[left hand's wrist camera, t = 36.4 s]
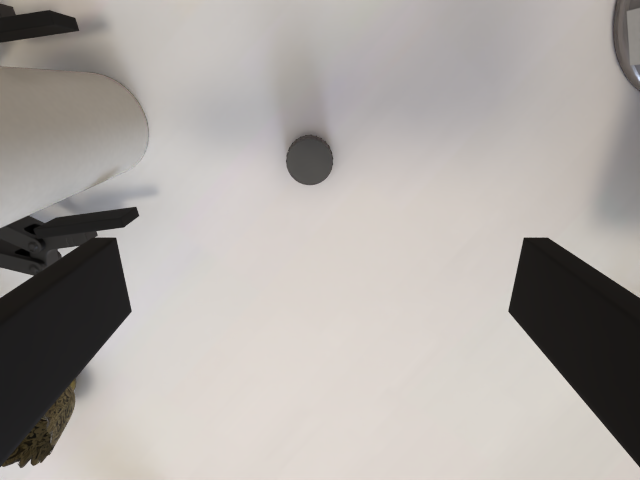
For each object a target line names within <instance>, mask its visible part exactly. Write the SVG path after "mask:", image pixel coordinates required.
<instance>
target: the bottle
mask: <svg viewBox="0 0 640 480" xmlns="http://www.w3.org/2000/svg"><path fill="white" fill-rule="evenodd" d="M147 144H148V125H147V121H146V117H145V114H144V112H143V110H142V108H141V106H140V104H139V103H138V101H137V100H136V98H135V97H134V96H133V95H132V94H131V93H130V92H129V91H128V90H127V89H126V88H125V87H124V86H123V85H121V84H120V83H118V82H117V81H115V80H113V79H111V78H109V77H107V76H104V75H101V74H97V73H88V72H74V71H59V70H45V69H30V68H15V67H1V66H0V228H2V227H4V226H6V225H8V224H11V223H13V222H15V221H17V220H19V219H22V218H24V217H26V216H28V215H31V214H33V213H35V212H37V211H39V210H42V209H44V208H46V207H48V206H51V205H53V204H55V203H57V202H59V201H62V200H64V199H66V198H68V197H71V196H73V195H75V194H77V193H79V192H82V191H84V190H86V189H88V188H91V187H93V186H95V185H97V184H99V183H102V182H104V181H106V180H108V179H111V178H113V177H115V176H117V175H119V174H122V173H124V172H126V171H128V170H130V169H131V168H133V167H134V166H135V165H136V164H137V163H138V162H139V161H140V160H141V159H142V157H143V155H144V153H145V151H146V148H147Z"/></svg>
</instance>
